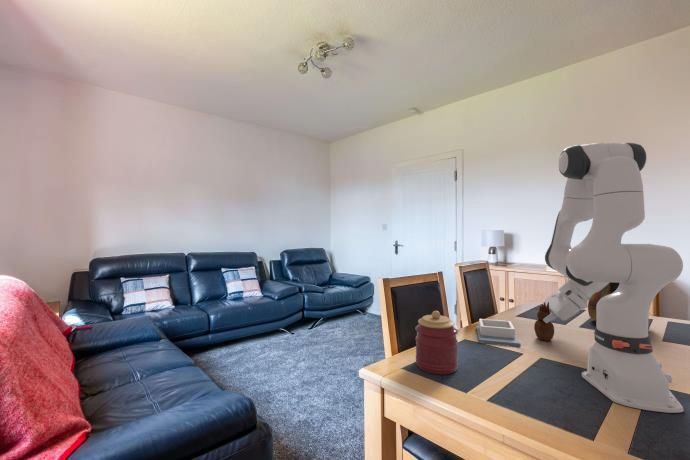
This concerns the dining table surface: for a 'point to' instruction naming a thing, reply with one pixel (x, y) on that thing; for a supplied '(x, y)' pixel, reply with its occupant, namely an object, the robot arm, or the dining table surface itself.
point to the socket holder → (497, 332)
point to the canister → (436, 344)
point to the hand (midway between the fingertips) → (542, 319)
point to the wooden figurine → (544, 324)
